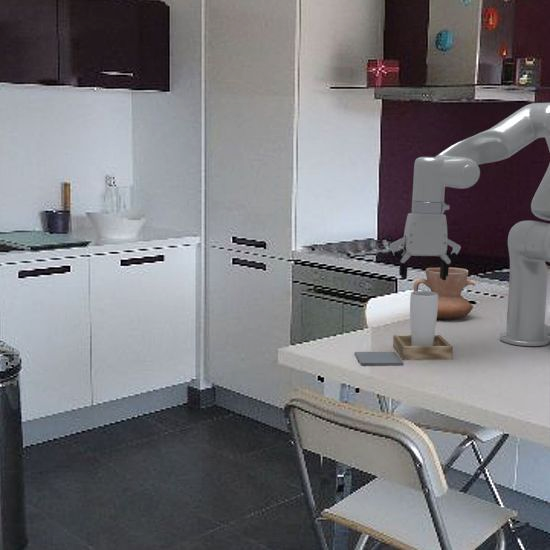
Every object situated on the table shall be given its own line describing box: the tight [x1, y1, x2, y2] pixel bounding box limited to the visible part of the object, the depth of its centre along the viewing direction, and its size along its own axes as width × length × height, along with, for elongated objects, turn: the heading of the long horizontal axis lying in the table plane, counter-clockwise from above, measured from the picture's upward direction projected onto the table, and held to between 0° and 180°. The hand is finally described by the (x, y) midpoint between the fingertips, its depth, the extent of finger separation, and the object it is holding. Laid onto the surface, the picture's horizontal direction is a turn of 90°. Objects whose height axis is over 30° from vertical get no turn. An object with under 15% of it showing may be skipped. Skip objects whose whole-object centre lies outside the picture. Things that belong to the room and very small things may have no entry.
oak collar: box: [392, 334, 454, 360], centre depth 209 cm, size 12×12×3 cm
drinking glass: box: [409, 290, 438, 346], centre depth 208 cm, size 7×7×15 cm
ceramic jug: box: [413, 267, 477, 321], centre depth 249 cm, size 18×14×14 cm
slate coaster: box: [354, 351, 405, 367], centre depth 203 cm, size 10×10×1 cm
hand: (423, 278), depth 206 cm, fingers open, 9 cm apart
